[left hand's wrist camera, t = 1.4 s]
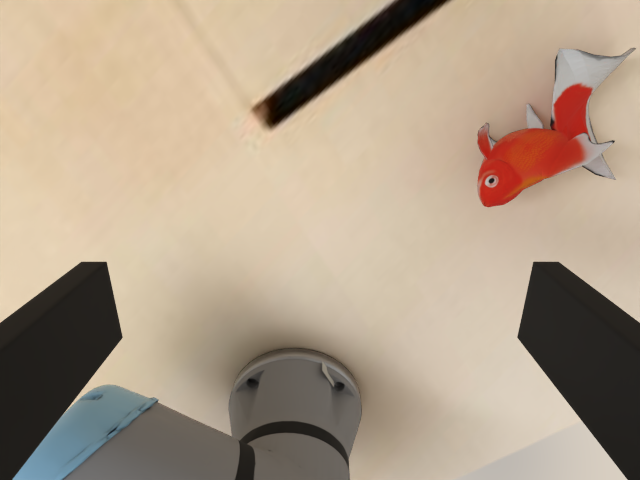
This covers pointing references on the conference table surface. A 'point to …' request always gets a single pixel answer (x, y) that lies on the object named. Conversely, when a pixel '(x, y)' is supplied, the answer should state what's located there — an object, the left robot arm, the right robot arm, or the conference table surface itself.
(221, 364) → the conference table surface
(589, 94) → the fish
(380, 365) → the conference table surface
